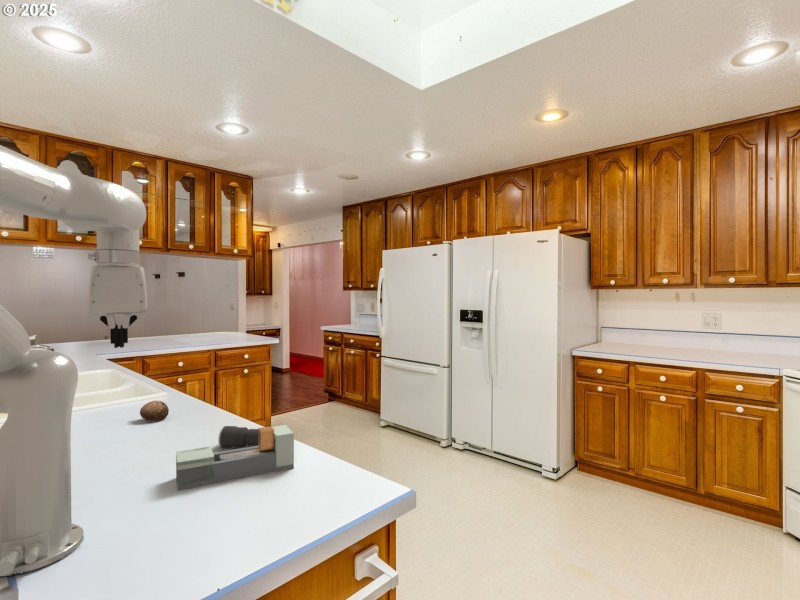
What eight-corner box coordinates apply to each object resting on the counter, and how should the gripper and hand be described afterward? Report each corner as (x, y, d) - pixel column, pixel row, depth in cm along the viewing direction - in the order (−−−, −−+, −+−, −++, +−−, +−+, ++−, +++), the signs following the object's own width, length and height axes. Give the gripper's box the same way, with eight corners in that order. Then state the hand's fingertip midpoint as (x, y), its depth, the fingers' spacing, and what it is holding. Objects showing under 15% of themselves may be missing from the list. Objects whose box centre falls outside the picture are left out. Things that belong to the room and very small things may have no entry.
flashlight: (283, 443, 117) (283, 424, 117) (277, 451, 112) (277, 430, 112) (226, 443, 117) (226, 423, 117) (218, 450, 112) (218, 429, 112)
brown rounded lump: (141, 407, 140) (147, 393, 138) (167, 413, 143) (173, 400, 141) (133, 425, 133) (139, 411, 131) (160, 432, 137) (167, 418, 134)
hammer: (220, 472, 95) (220, 437, 95) (219, 467, 98) (219, 433, 97) (285, 460, 102) (285, 428, 101) (281, 455, 104) (281, 424, 104)
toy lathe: (177, 490, 89) (177, 451, 89) (176, 477, 95) (176, 440, 95) (293, 468, 101) (293, 433, 100) (286, 457, 107) (286, 424, 107)
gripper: (71, 257, 84) (72, 351, 85) (159, 260, 92) (159, 347, 92) (77, 259, 91) (78, 347, 91) (159, 262, 98) (159, 343, 98)
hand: (119, 346), depth 92 cm, fingers closed
